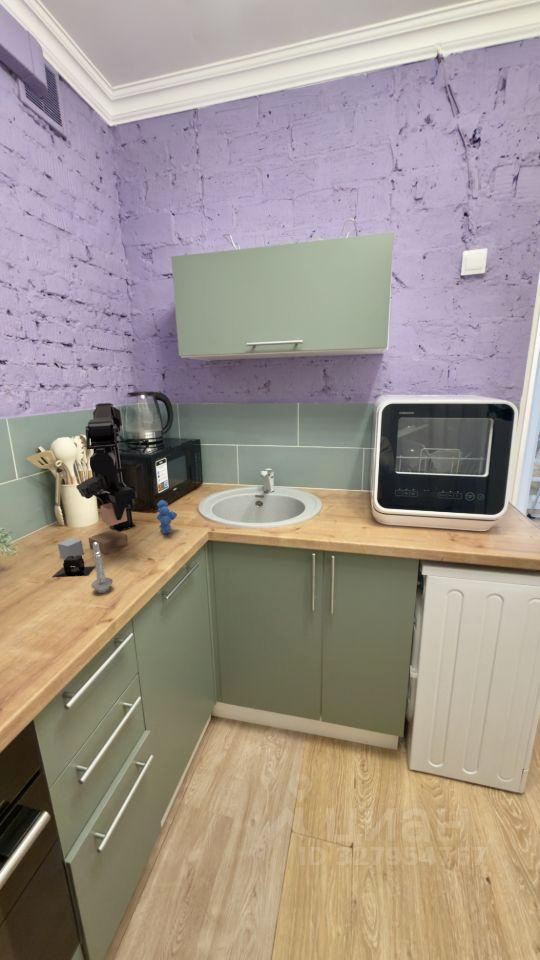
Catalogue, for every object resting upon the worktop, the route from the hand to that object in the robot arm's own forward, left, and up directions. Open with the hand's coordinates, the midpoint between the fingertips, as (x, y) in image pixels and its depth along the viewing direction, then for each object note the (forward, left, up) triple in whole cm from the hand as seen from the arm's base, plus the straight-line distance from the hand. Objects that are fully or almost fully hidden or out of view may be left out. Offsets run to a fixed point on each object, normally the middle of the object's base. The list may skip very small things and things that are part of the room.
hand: (114, 517), depth 116 cm
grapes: (-18, -1, -11) cm, 21 cm away
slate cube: (+10, -9, -11) cm, 18 cm away
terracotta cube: (0, 0, -1) cm, 1 cm away
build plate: (+14, +2, -12) cm, 18 cm away
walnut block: (0, -6, -11) cm, 13 cm away
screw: (+13, +18, -11) cm, 25 cm away
